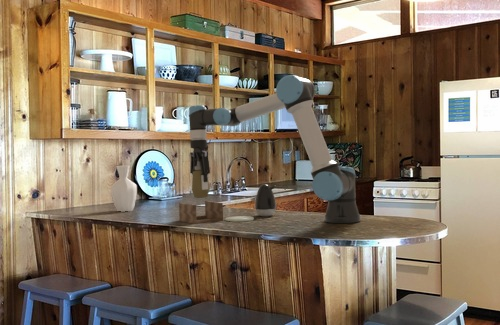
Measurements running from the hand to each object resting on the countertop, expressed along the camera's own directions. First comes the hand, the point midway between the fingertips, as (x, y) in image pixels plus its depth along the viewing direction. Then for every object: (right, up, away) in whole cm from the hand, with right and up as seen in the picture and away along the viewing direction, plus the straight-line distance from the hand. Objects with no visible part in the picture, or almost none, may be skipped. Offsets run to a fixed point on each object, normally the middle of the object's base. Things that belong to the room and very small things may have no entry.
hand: (200, 189), depth 254 cm
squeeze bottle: (0, -4, 0) cm, 4 cm away
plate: (+18, -14, -1) cm, 23 cm away
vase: (-46, -15, +52) cm, 71 cm away
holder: (0, -14, +1) cm, 14 cm away
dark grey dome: (+30, -13, +11) cm, 35 cm away
